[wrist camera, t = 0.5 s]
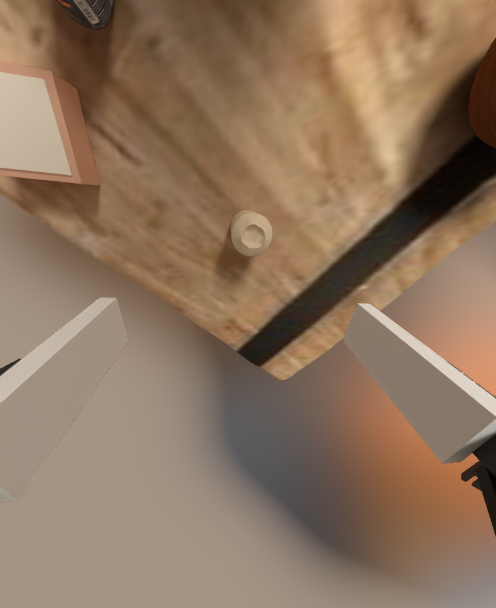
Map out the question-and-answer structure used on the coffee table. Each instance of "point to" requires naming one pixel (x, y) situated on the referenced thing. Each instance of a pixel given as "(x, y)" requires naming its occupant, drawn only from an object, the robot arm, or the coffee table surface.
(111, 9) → the pill bottle
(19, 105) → the riser
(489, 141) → the bowl
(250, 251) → the candle
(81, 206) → the coffee table surface
